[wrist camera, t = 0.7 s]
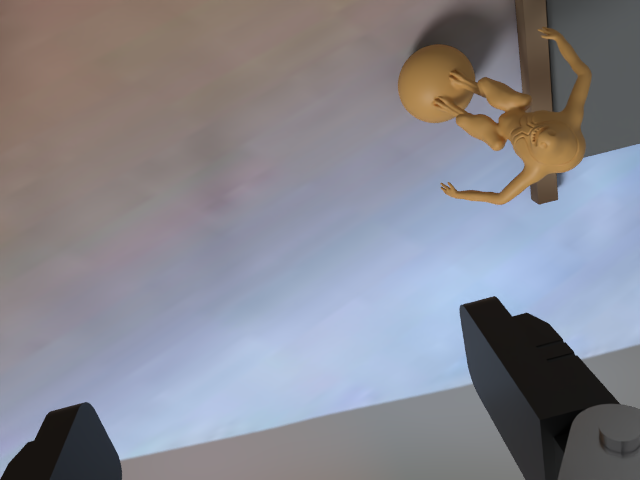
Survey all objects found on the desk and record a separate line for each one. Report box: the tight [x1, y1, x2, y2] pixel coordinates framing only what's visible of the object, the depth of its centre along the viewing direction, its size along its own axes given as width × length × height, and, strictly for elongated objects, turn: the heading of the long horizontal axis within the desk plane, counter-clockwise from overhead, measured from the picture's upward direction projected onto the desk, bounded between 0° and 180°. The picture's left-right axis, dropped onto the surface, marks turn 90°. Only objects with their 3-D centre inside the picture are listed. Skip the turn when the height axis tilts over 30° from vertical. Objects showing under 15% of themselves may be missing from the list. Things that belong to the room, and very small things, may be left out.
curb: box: [515, 0, 558, 204], centre depth 32 cm, size 16×1×1 cm, turn 13°
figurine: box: [398, 27, 592, 205], centre depth 27 cm, size 8×6×12 cm
